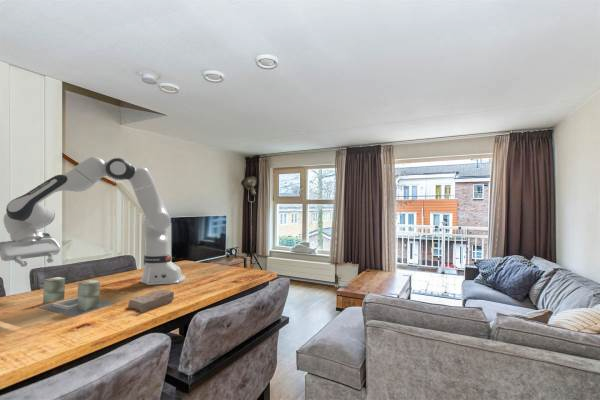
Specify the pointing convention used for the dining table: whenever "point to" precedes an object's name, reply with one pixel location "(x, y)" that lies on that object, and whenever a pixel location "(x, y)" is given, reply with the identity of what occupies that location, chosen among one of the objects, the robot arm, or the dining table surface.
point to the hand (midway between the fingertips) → (38, 263)
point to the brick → (151, 300)
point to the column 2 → (88, 295)
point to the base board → (72, 307)
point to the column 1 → (53, 289)
